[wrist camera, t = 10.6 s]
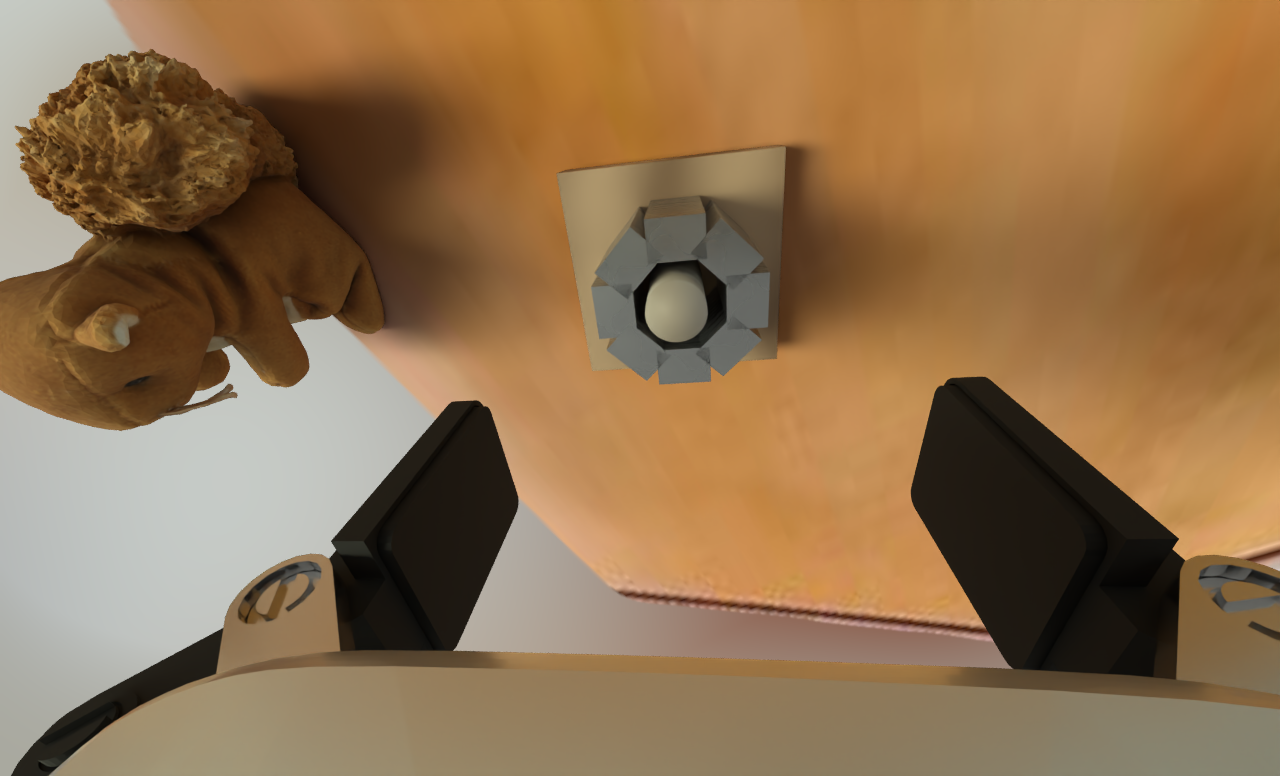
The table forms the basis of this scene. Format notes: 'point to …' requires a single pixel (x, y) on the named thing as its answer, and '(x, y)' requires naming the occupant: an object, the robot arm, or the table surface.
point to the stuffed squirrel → (169, 250)
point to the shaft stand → (675, 288)
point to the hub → (731, 303)
